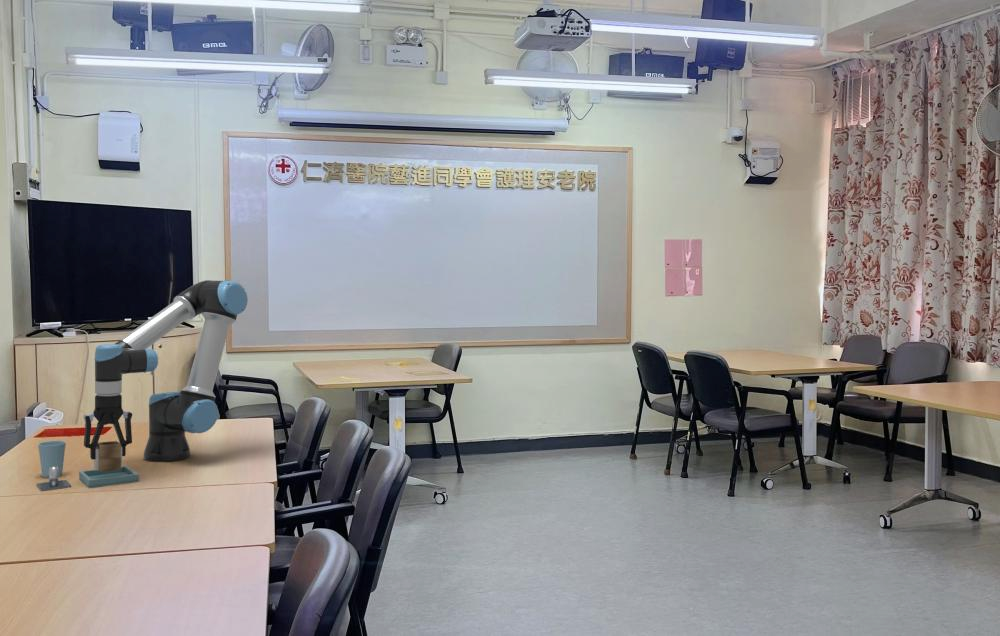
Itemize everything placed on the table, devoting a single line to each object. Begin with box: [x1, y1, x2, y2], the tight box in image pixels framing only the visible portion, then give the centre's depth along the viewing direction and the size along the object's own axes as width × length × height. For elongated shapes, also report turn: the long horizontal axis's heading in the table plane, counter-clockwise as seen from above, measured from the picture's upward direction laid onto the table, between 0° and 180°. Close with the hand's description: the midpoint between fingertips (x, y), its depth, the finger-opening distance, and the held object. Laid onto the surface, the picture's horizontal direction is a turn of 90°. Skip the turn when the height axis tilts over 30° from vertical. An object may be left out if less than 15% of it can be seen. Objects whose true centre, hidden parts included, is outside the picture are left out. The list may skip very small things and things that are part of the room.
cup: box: [37, 440, 67, 478], centre depth 254 cm, size 8×8×10 cm
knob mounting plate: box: [36, 466, 72, 492], centre depth 242 cm, size 8×8×6 cm
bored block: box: [96, 440, 121, 472], centre depth 250 cm, size 6×6×8 cm
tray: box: [78, 465, 140, 489], centre depth 250 cm, size 14×14×2 cm
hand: (108, 468), depth 250 cm, fingers closed on bored block, 6 cm apart
